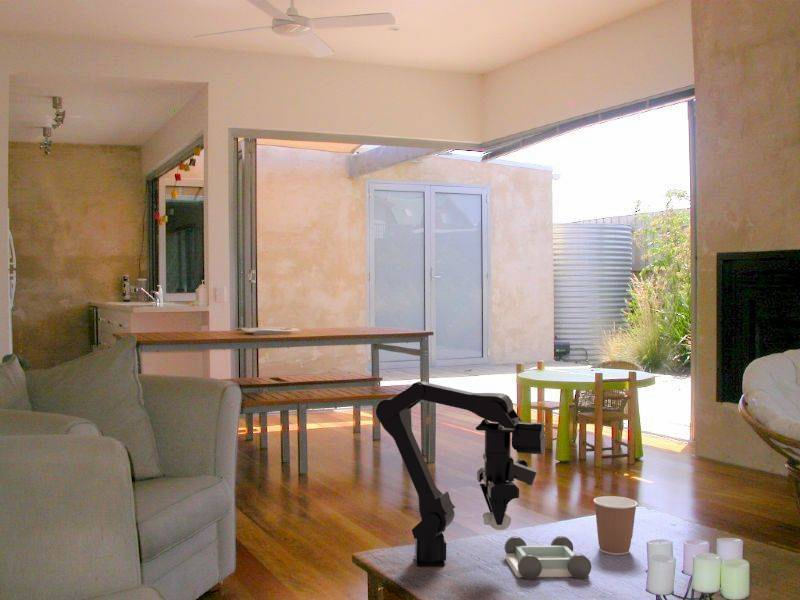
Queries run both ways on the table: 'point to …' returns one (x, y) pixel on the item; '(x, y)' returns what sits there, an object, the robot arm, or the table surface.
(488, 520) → the white figurine
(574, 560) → the toy chassis
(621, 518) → the coffee cup
